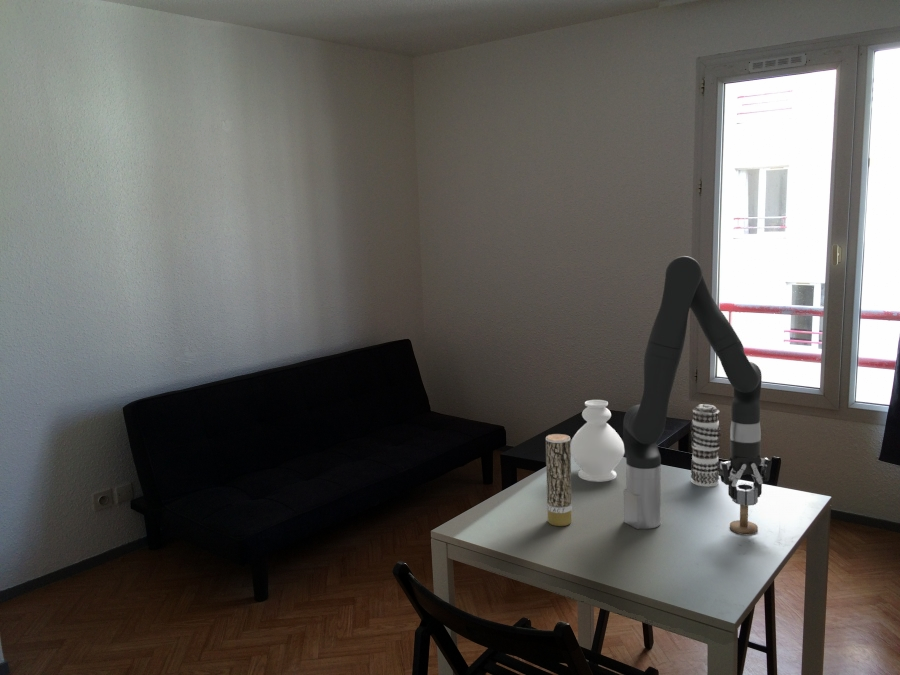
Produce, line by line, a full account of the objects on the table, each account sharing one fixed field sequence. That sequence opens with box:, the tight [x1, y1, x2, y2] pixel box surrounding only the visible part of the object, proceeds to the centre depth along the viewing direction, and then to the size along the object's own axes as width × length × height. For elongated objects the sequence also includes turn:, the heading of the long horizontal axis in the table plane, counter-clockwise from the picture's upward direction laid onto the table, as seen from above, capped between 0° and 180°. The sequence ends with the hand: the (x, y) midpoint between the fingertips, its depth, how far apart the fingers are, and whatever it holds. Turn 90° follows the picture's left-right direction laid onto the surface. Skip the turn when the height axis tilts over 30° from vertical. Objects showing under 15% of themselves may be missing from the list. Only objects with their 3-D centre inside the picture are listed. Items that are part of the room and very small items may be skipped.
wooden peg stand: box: [729, 504, 759, 535], centre depth 197 cm, size 7×7×8 cm
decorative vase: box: [570, 399, 625, 483], centre depth 242 cm, size 18×18×25 cm
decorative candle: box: [689, 403, 722, 488], centre depth 231 cm, size 9×9×25 cm
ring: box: [731, 482, 759, 507], centre depth 196 cm, size 6×6×4 cm
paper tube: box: [545, 433, 573, 527], centre depth 205 cm, size 7×7×25 cm
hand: (744, 497), depth 196 cm, fingers closed on ring, 6 cm apart
